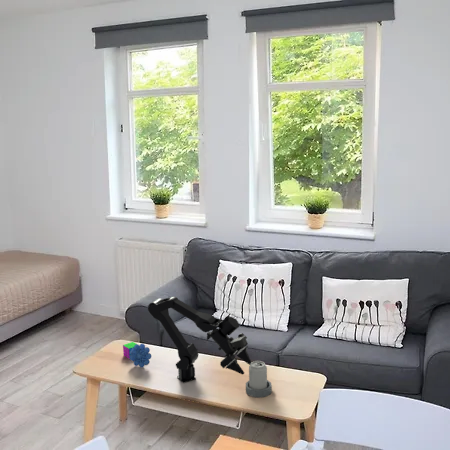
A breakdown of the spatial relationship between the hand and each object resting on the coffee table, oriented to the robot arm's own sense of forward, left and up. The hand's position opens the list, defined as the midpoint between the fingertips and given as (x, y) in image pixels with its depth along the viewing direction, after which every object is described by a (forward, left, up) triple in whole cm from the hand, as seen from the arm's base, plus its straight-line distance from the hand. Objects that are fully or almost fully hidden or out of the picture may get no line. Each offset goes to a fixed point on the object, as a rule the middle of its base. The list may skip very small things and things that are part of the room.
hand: (247, 369), depth 239 cm
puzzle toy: (-30, +59, -10) cm, 67 cm away
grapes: (-30, +45, -9) cm, 55 cm away
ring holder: (+3, -4, -9) cm, 10 cm away
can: (+3, -4, -9) cm, 10 cm away
